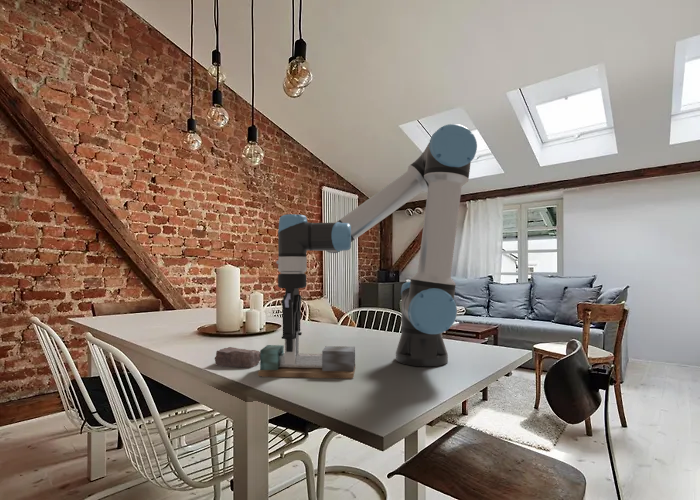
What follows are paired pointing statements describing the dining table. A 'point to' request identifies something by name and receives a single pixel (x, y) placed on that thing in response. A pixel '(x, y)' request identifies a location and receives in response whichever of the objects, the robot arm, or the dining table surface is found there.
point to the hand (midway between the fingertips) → (291, 361)
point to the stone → (237, 357)
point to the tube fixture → (333, 366)
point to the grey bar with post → (302, 358)
